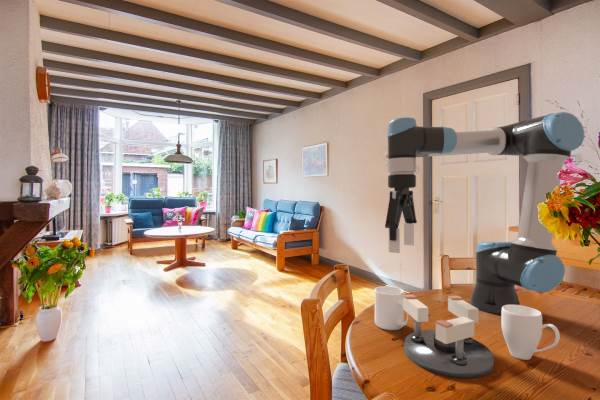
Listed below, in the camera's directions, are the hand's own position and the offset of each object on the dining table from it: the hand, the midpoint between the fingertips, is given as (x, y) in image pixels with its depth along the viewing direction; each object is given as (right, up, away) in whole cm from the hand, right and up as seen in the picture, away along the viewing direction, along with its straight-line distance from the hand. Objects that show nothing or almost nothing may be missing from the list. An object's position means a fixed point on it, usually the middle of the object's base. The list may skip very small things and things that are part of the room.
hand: (402, 248), depth 93 cm
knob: (+6, -22, -20) cm, 30 cm away
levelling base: (+7, -25, -12) cm, 28 cm away
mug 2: (+27, -25, -14) cm, 39 cm away
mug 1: (-1, -25, +5) cm, 25 cm away
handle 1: (+1, -21, -7) cm, 23 cm away
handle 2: (+14, -21, -7) cm, 26 cm away
